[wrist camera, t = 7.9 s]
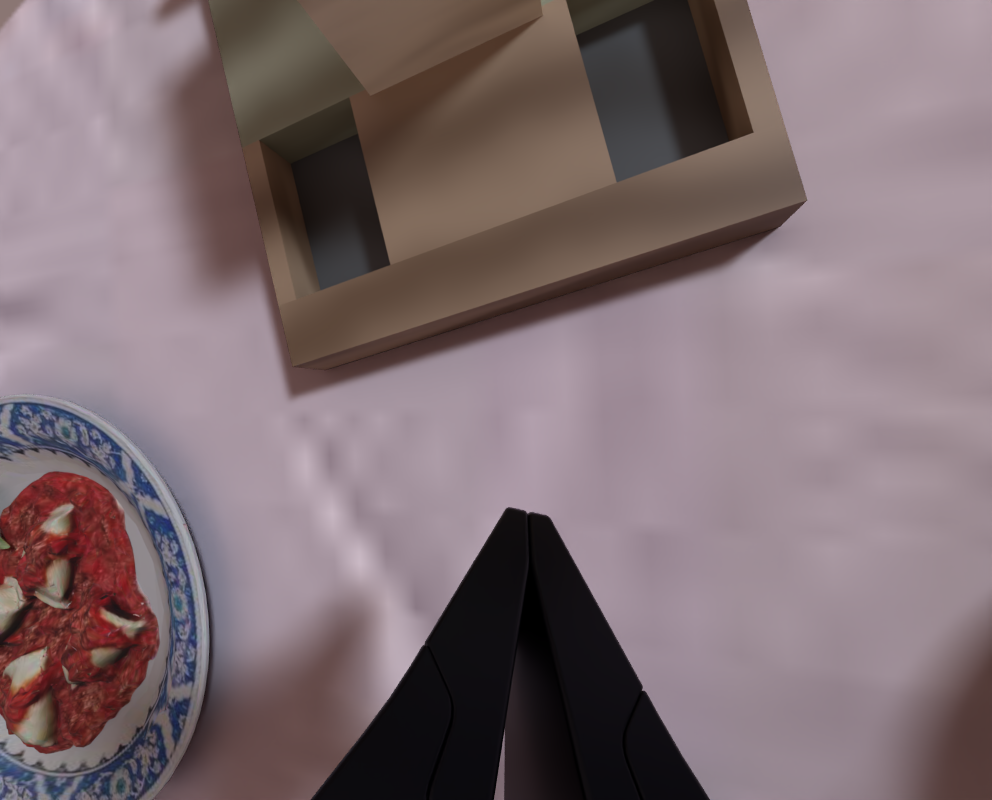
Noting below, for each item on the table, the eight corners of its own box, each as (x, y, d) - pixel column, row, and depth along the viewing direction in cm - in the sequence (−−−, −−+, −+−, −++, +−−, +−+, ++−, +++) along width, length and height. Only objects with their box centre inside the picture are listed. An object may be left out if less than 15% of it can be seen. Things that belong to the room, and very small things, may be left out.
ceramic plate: (316, 700, 24) (276, 742, 21) (28, 865, 29) (-37, 918, 26) (112, 313, 27) (53, 302, 24) (-115, 522, 32) (-186, 534, 29)
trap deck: (779, 226, 18) (854, 154, 13) (325, 369, 23) (241, 361, 18) (620, -307, 20) (627, -574, 14) (223, -63, 24) (117, -192, 19)
